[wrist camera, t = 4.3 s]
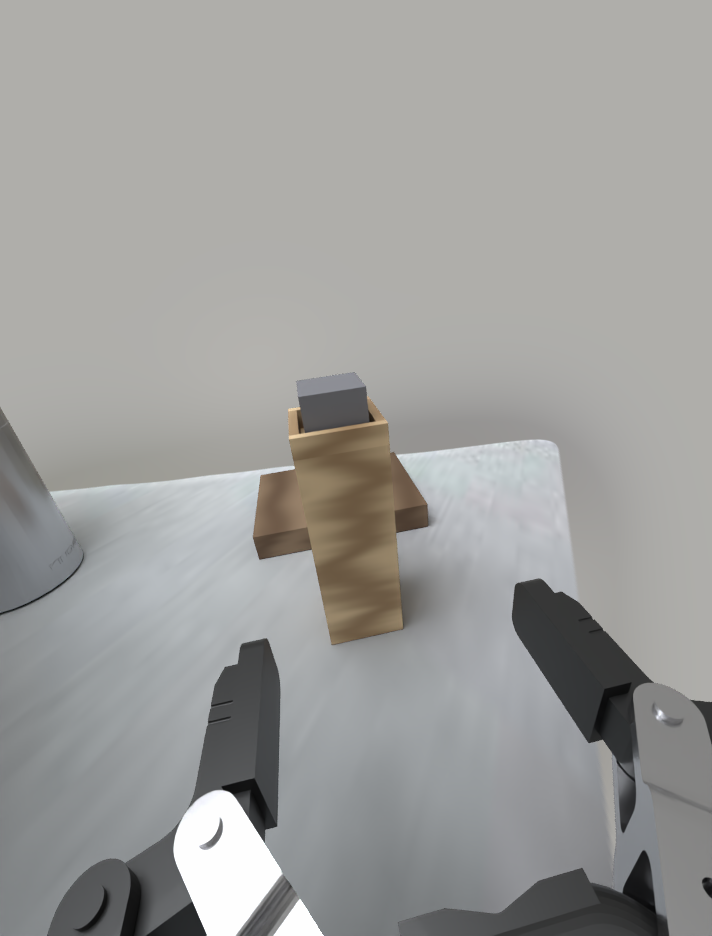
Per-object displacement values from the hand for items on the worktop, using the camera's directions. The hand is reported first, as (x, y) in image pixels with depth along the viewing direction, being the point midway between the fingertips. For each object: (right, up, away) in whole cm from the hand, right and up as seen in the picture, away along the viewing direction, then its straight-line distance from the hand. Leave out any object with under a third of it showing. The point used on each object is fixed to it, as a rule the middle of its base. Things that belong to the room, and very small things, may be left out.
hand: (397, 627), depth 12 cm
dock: (-3, +1, +28) cm, 28 cm away
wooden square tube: (-1, -5, +16) cm, 17 cm away
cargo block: (-2, +7, +10) cm, 12 cm away
